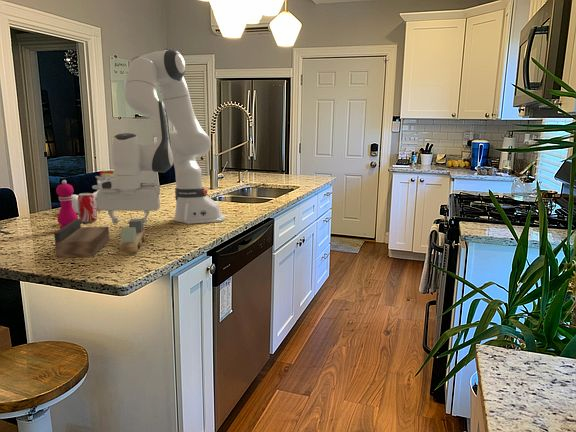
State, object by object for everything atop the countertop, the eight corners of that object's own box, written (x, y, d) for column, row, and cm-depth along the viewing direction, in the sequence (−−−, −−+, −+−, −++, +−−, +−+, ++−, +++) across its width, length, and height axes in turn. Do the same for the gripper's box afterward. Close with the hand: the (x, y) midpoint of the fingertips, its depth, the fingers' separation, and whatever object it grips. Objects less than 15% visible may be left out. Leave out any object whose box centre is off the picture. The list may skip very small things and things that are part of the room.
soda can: (90, 223, 184) (88, 195, 181) (75, 222, 185) (73, 194, 183) (100, 220, 191) (98, 193, 188) (86, 219, 192) (83, 192, 189)
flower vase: (81, 229, 202) (126, 207, 220) (72, 194, 192) (119, 174, 210) (65, 221, 208) (109, 200, 226) (55, 186, 199) (102, 167, 217)
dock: (109, 239, 159) (107, 218, 157) (93, 256, 140) (91, 232, 138) (77, 240, 158) (75, 219, 156) (56, 257, 138) (54, 233, 137)
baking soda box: (101, 199, 240) (99, 170, 236) (105, 197, 246) (103, 169, 243) (119, 199, 241) (117, 170, 237) (122, 197, 247) (120, 169, 244)
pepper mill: (58, 233, 168) (53, 181, 164) (58, 229, 174) (53, 179, 170) (79, 231, 171) (74, 180, 167) (78, 227, 178) (73, 178, 173)
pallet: (145, 239, 160) (145, 229, 159) (136, 254, 142) (135, 242, 142) (131, 240, 159) (130, 229, 158) (120, 254, 142) (119, 242, 141)
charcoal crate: (143, 229, 159) (142, 218, 158) (141, 232, 155) (140, 221, 154) (132, 229, 158) (131, 219, 157) (129, 232, 154) (128, 221, 153)
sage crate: (136, 238, 146) (135, 227, 145) (134, 242, 142) (133, 230, 141) (123, 239, 145) (123, 227, 145) (121, 242, 142) (120, 230, 141)
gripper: (161, 182, 150) (162, 221, 153) (99, 181, 148) (101, 221, 151) (158, 184, 144) (159, 225, 147) (93, 183, 142) (95, 225, 144)
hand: (129, 223), depth 149 cm, fingers open, 8 cm apart
